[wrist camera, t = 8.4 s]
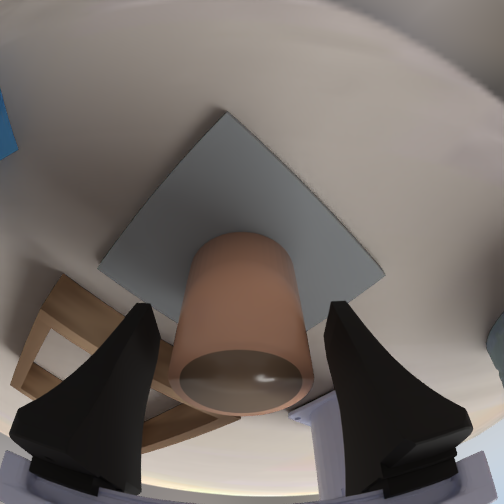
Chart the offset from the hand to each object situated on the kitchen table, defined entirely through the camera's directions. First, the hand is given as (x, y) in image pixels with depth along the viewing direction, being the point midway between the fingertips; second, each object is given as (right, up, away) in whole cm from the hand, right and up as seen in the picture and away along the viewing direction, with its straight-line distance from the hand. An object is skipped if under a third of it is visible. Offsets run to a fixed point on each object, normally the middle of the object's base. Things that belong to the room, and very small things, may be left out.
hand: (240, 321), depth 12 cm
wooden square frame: (-10, -7, +9) cm, 15 cm away
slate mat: (0, +2, +3) cm, 4 cm away
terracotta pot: (0, +2, +3) cm, 3 cm away
